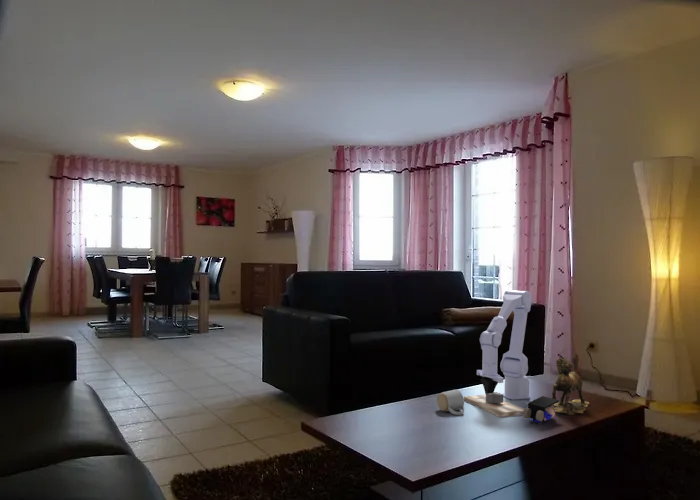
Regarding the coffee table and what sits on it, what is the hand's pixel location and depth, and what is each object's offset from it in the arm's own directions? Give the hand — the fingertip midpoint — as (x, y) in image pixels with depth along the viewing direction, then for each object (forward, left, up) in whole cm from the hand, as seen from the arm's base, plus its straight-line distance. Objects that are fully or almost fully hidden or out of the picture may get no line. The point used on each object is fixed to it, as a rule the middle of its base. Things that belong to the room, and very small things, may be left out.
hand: (489, 397), depth 200 cm
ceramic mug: (+19, +4, -3) cm, 20 cm away
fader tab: (0, +3, -1) cm, 3 cm away
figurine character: (-5, +23, -3) cm, 24 cm away
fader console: (0, +3, -3) cm, 4 cm away
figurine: (-29, +12, -3) cm, 32 cm away
